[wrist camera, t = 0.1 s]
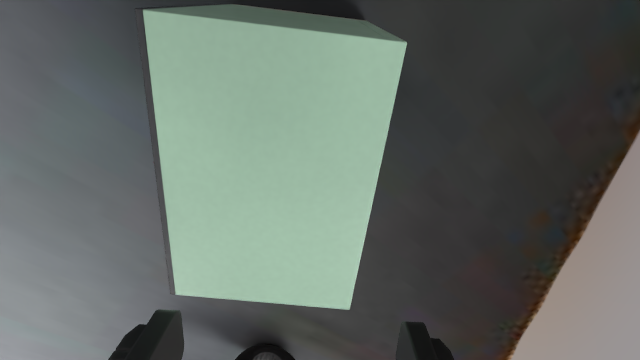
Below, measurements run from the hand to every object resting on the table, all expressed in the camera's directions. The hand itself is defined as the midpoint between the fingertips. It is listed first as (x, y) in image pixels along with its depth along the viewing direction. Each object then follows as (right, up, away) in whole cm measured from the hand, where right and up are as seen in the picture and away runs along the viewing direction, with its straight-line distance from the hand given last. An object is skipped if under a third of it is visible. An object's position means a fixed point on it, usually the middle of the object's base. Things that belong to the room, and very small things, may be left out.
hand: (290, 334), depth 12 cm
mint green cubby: (-1, +12, +19) cm, 22 cm away
